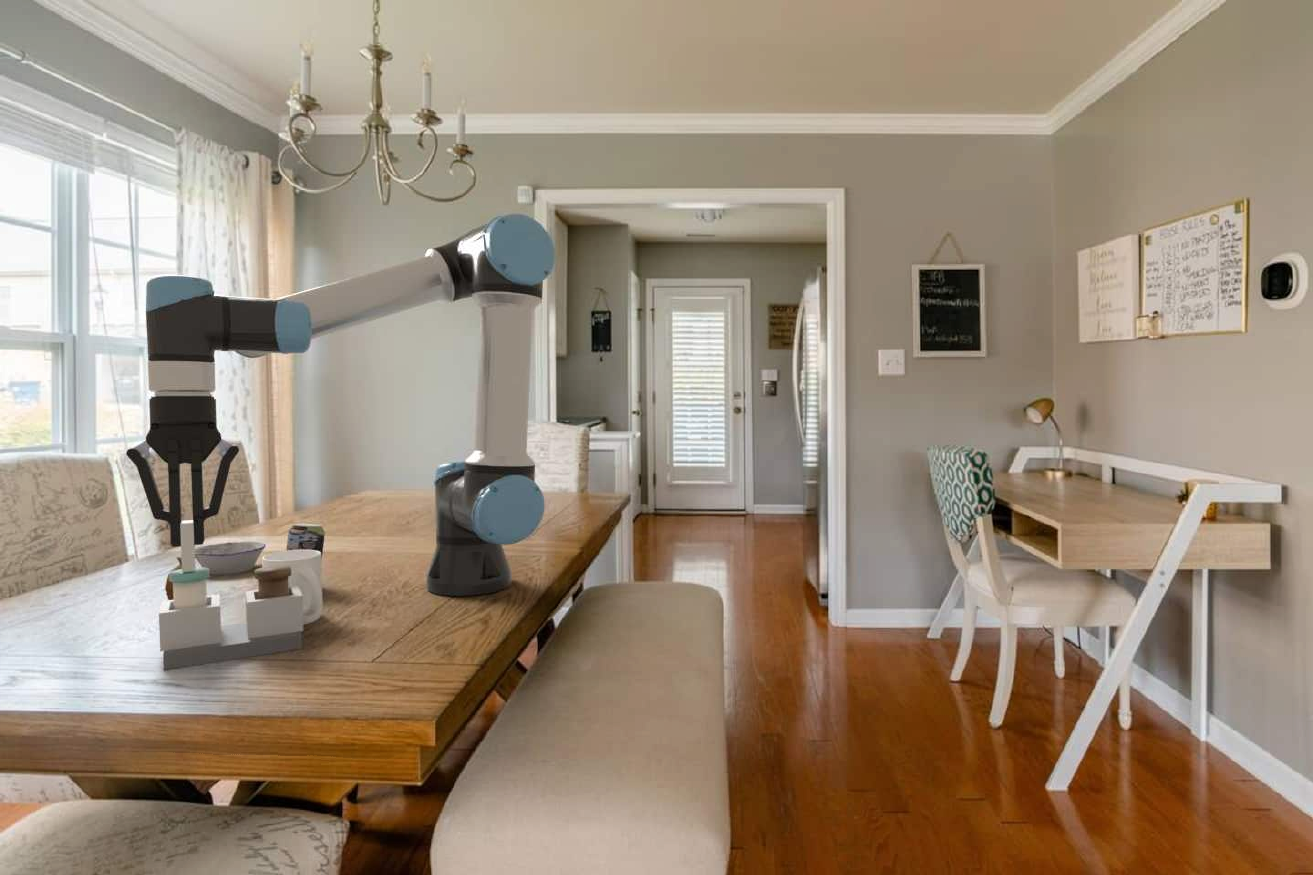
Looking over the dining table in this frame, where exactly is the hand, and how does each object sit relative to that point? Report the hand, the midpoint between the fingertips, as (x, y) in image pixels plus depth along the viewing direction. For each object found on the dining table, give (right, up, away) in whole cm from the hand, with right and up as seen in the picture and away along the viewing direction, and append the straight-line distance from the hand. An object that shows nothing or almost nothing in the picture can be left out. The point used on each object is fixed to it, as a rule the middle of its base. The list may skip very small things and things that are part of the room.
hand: (188, 569), depth 100 cm
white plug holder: (+4, -12, +3) cm, 13 cm away
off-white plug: (0, -8, +1) cm, 8 cm away
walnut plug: (+9, -9, +6) cm, 14 cm away
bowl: (-23, -9, +50) cm, 55 cm away
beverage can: (-1, -10, +35) cm, 36 cm away
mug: (+8, -11, +15) cm, 20 cm away
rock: (-14, -11, +23) cm, 29 cm away
